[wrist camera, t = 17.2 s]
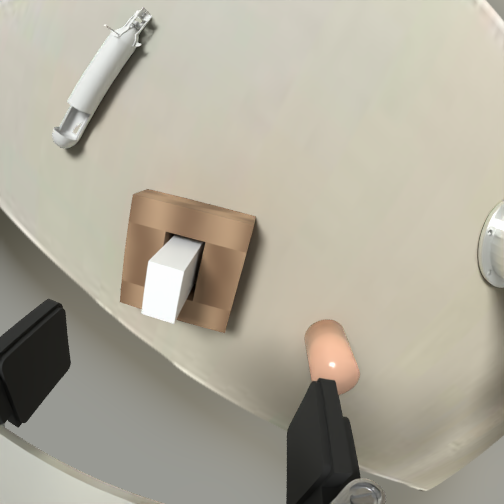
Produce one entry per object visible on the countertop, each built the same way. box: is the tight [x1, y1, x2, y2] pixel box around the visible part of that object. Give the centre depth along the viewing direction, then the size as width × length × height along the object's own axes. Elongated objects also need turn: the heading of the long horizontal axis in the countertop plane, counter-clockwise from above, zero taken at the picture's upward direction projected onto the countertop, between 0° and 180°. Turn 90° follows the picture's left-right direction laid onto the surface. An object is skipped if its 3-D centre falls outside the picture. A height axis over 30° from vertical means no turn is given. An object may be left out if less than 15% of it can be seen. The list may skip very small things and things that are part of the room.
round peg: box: [305, 320, 360, 395], centre depth 33 cm, size 5×5×8 cm
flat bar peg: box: [141, 234, 205, 324], centre depth 29 cm, size 3×5×10 cm, turn 165°
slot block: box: [120, 189, 256, 333], centre depth 32 cm, size 12×12×4 cm
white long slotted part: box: [52, 7, 152, 148], centre depth 25 cm, size 18×5×6 cm, turn 144°
